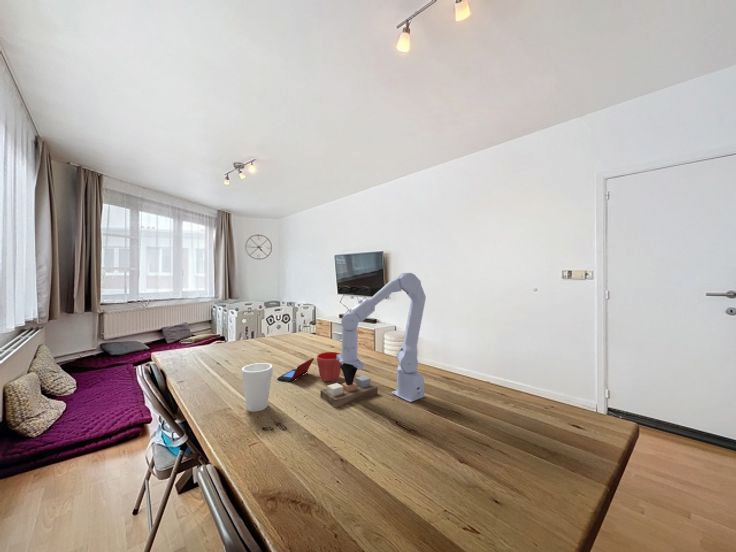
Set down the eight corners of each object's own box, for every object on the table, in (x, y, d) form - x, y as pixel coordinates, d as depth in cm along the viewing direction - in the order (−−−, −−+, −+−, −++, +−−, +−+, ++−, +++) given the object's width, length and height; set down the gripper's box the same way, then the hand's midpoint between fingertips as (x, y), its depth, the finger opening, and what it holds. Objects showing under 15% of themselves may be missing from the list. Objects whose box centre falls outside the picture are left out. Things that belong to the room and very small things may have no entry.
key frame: (377, 393, 104) (377, 386, 104) (335, 407, 93) (335, 400, 93) (361, 385, 112) (361, 378, 112) (320, 397, 101) (320, 390, 101)
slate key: (370, 386, 106) (370, 378, 106) (361, 389, 103) (361, 380, 103) (363, 383, 109) (363, 375, 109) (355, 385, 106) (355, 377, 106)
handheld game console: (293, 371, 128) (293, 354, 128) (314, 374, 125) (314, 357, 125) (275, 381, 117) (275, 363, 117) (298, 384, 113) (298, 365, 113)
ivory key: (343, 395, 98) (343, 386, 98) (333, 398, 96) (333, 389, 96) (337, 391, 101) (337, 382, 101) (327, 394, 99) (327, 385, 99)
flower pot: (341, 383, 114) (341, 359, 114) (314, 383, 114) (314, 358, 114) (344, 374, 124) (344, 351, 124) (319, 373, 125) (319, 351, 125)
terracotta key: (357, 392, 102) (357, 384, 102) (347, 395, 100) (347, 387, 99) (350, 389, 105) (350, 381, 105) (341, 391, 103) (341, 383, 103)
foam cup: (235, 409, 91) (235, 369, 91) (258, 398, 100) (258, 361, 99) (255, 416, 87) (255, 374, 87) (278, 404, 95) (278, 365, 95)
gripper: (329, 344, 106) (329, 380, 106) (351, 352, 94) (351, 393, 94) (345, 341, 110) (345, 376, 110) (368, 349, 98) (368, 388, 98)
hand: (349, 384), depth 102 cm, fingers closed, pressing on terracotta key
